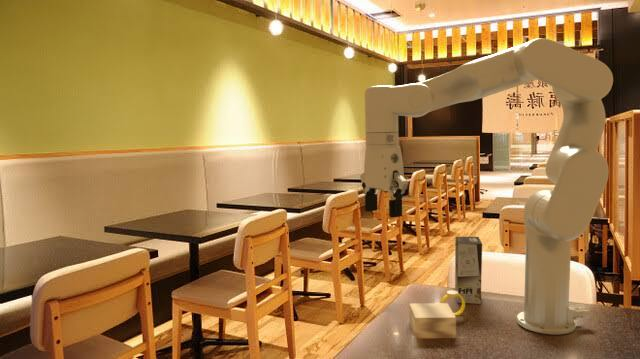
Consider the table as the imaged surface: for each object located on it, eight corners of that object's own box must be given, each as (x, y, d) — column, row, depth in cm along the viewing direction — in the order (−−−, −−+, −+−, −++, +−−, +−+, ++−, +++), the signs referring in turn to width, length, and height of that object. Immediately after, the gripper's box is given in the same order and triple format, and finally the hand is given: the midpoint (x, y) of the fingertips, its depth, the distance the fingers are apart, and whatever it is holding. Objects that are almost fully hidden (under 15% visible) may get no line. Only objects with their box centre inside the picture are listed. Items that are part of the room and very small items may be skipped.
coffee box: (481, 304, 135) (482, 243, 134) (456, 303, 137) (457, 243, 135) (478, 292, 144) (479, 236, 142) (454, 291, 146) (455, 235, 144)
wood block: (447, 323, 124) (447, 303, 124) (455, 339, 115) (456, 317, 115) (409, 323, 125) (409, 303, 124) (415, 339, 116) (415, 317, 115)
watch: (443, 319, 127) (442, 295, 126) (439, 314, 130) (438, 292, 129) (467, 315, 128) (465, 292, 127) (462, 311, 130) (461, 288, 130)
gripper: (419, 140, 113) (419, 217, 115) (374, 138, 128) (375, 207, 130) (390, 141, 110) (392, 221, 112) (348, 140, 125) (350, 210, 127)
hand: (383, 213), depth 121 cm, fingers open, 9 cm apart
